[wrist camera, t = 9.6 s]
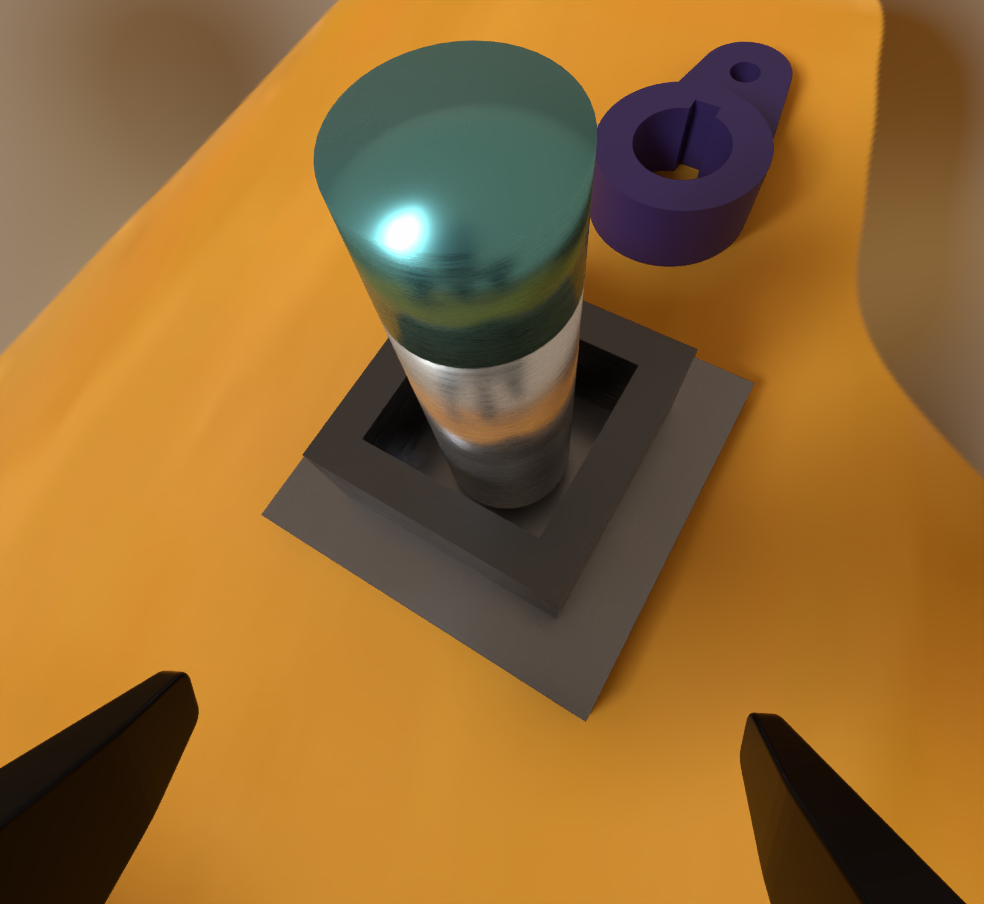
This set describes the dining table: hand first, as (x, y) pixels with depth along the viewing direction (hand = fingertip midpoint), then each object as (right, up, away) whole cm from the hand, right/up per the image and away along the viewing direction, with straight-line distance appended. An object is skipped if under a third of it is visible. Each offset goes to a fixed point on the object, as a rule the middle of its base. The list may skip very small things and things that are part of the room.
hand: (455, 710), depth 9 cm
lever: (+9, +16, +16) cm, 24 cm away
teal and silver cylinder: (+1, +4, +10) cm, 11 cm away
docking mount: (+1, +4, +11) cm, 12 cm away
